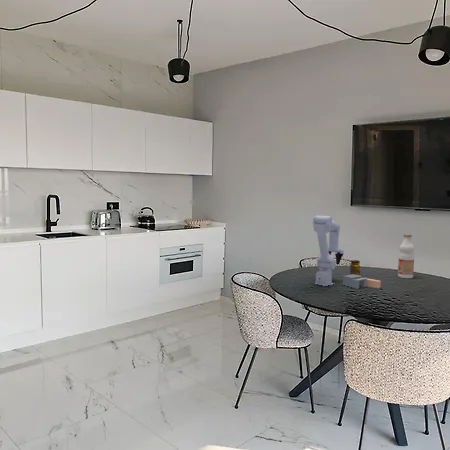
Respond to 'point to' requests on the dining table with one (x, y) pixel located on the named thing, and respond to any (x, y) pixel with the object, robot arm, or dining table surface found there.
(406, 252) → the fruit juice
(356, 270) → the condiment
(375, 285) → the peach rectangular block
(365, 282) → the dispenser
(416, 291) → the dining table surface
